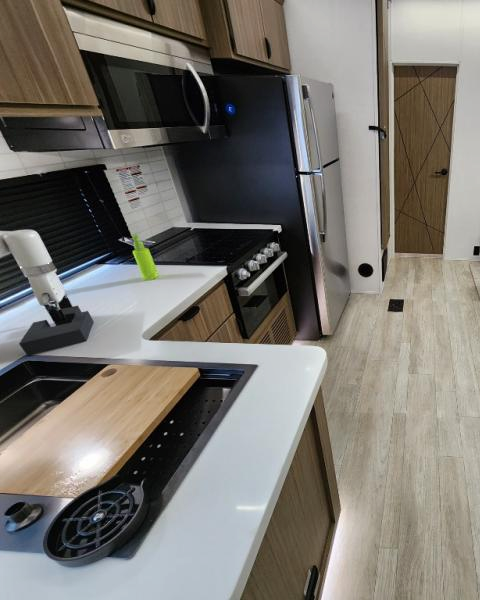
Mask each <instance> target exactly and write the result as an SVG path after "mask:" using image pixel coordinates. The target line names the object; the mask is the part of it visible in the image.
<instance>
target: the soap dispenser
mask: <svg viewBox="0 0 480 600" xmlns="http://www.w3.org/2000/svg"><path fill="white" fill-rule="evenodd" d="M130 236H131V237H132V239H133V241H134V242H133V243H132V245H133V248H134V250H132V254H133V258H134V259H135V262H136V264H137V267H138V269H139V271H140V274H141V276H142V279H143V281H152V280H151V279H153V280H155V278H156V279H158V278H159V277H160V274H159V272H158V270H157V266H156V264H155V261H154V259H153V256H152V254H151V251H150V249H149V248H147V247H145V245H144V243H143V241H141V240H140V238H139V235H138V233H130ZM158 276H159V277H158ZM157 277H158V278H157Z"/></svg>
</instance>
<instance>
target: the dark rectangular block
mask: <svg viewBox="0 0 480 600" xmlns="http://www.w3.org/2000/svg"><path fill="white" fill-rule="evenodd" d="M93 325H94V320H93V317H92V315H91V314H90V312H89V310H86V311H81V312H80V313H76V314H75V316H74V318H73V321H72V323H67V324H63V325H58V326H56V325H54V326H51V324H50V323H49V322H48V320H47V319H43V320H39V321H33V322H32V324H31V325H30V326H29V328H28V330H27V331H26V332H25V333H24V335H23V336H22V339H21V340H20V342H19V343H18V344H19V346H20V348H21V349H22V350H23V352H24V353H25V355H26V356H27V355H28V356H31V355H35V354H39V353H44V352H47V351H52V350H56V349H60V348H64V347H68V346H73V345H76V344H80V343H86V342H87V341H88V339H89V336H90V332H91V331H92V327H93Z"/></svg>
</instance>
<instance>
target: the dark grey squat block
mask: <svg viewBox="0 0 480 600" xmlns="http://www.w3.org/2000/svg"><path fill="white" fill-rule="evenodd" d="M62 311H63V313H64V315H65V317H66V320H63V321H58V322H53V323H54V325H55V326H58V325H63V324H67V323H72V321H73V318H74V316H75V314H76V313H80V312H82V310H81V308H80V306H79V305H72V307H68V308H63V309H62Z"/></svg>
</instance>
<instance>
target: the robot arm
mask: <svg viewBox="0 0 480 600" xmlns="http://www.w3.org/2000/svg"><path fill="white" fill-rule="evenodd" d="M10 254H11V255H12V256H13V258H14V260H15V261H16V263H17V266H18V267H19V269H20V271H21V272H22V274H23V275H24V277H25V278H27V279H28V282H29V283H28V284H29V285H30V288H31V290H32V293H33V294H34V296H35V298H36V300H37V302H38V304H39V305H40V307H41V306H42V307H44V309H45V310H46V312H47V313H48V315H49V316H50V318H51V320H52V322H53V323H54V322H58V321H63V320H66V317H65V315H64V313H63V311H62V309H63V308H68V307H73V304H72V302H71V300H70V299H69V297H68V294H67V293H66V289H65V287H64V284H63V283H62V282H61V279H60V278H59V276H58V274H57V271H58V269H57V267H56V265H55V263H54V261H53V259H52V257H51V255H50V254H49V252H48V249H47V247H46V245H45V243H44V241H43V240H42V237H41V235H40V234H39V233H38V231H36V230H34V229H18V230H11V231H10V230H0V259H1V258H3V257H5V256H8V255H10Z"/></svg>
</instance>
